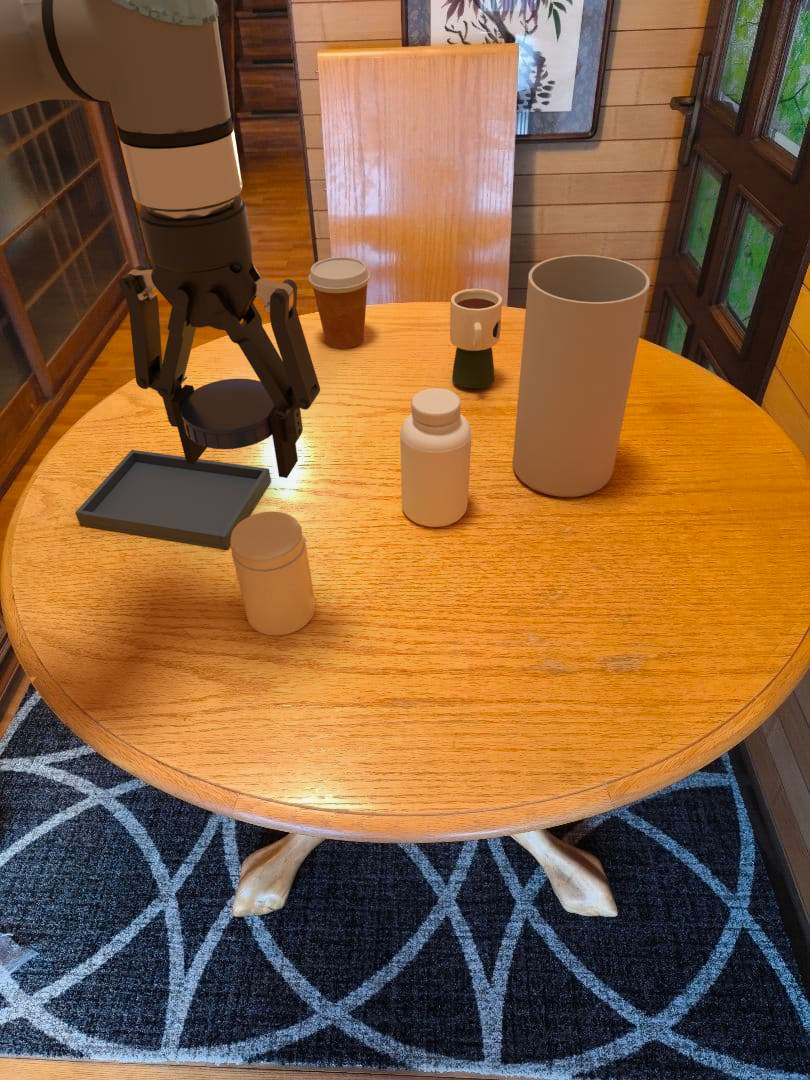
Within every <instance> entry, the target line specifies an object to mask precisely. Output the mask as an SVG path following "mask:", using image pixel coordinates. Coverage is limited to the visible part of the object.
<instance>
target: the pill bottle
mask: <svg viewBox="0 0 810 1080" xmlns="http://www.w3.org/2000/svg"><path fill="white" fill-rule="evenodd" d="M461 402H462V401H461V399H460V397H459V396H458V395H457V394H456V393H455V392H453V391H452V390H449V389H446V388H439V387H437V388H436V387H435V388H432V387H431V388H427V389H422V390H420V391H419V392H417V393H415V394H414V395H413V397H412V399H411V403H410V404H411V410H410V411H411V413H410V414H409V415H408V416H407V417H406V418H405V419H404V420H403V422H402V424H401V428H400V431H399V432H400V434H399V435H400V436H399V438H400V439H399V441H400V443H399V444H400V490H401V492H400V493H401V496H400V497H401V507H402V510H403V513H404V514H405V515H406V517H407V518H408V519H409V520H410V521H412V522H414V523H416V524H418V525H420V526H424V527H428V528H429V527H431V528H440V527H446V526H449V525H452V524H454V523H456V522H458V521H459V520H460V519H462V517H463V516H464V514H465V513H466V512H467V509H468V503H469V489H470V470H471V469H470V468H471V452H472V451H471V450H472V428H471V424H470V422H469V421H468V419H467V418H466V417H465V416H464V415H462V414H461V407H462V405H461Z"/></svg>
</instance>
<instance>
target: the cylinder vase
mask: <svg viewBox="0 0 810 1080" xmlns="http://www.w3.org/2000/svg"><path fill="white" fill-rule="evenodd" d="M650 284H651V280H650V277H649V275H648V274H647V273H646V272H645V270H643V269H641V268H640V267H639V266H637V265H636V264H633V263H631V262H629V261H625V260H622V259H618V258H614V257H609V256H603V255H595V254H569V255H561V256H555V257H552V258H548V259H545V260H543V261H541V262H539V263H537V264H535V265H533V267H532V268H531V269H530V270H529V272H528V278H527V289H526V290H527V291H526V303H525V314H524V324H523V325H524V326H523V336H522V349H521V359H520V371H519V382H518V393H517V394H518V395H517V405H516V406H517V408H516V417H515V428H514V429H515V430H514V441H513V452H512V467H513V471H514V473H515V475H516V476H517V477H518V478H519V480H520V481H521V482H523V483H524V484H525V485H526V486H527V487H529V488H531V489H533V490H534V491H537V492H538V493H542V494H544V495H548V496H552V497H560V498H575V497H583V496H587V495H590V494H593V493H595V492H597V491H599V490H600V489H602V488H603V487H605V486H606V485H607V484H608V483H609V481H610V480H611V478H612V476H613V474H614V473H613V472H614V468H615V464H616V458H617V453H618V447H619V444H620V443H619V442H620V439H621V432H622V428H623V423H624V418H625V411H626V408H627V407H626V406H627V401H628V396H629V392H630V386H631V383H632V376H633V372H634V366H635V362H636V356H637V350H638V346H639V340H640V335H641V330H642V325H643V320H644V316H645V315H644V314H645V310H646V305H647V301H648V300H647V299H648V295H649V289H650Z"/></svg>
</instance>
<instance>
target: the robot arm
mask: <svg viewBox="0 0 810 1080" xmlns="http://www.w3.org/2000/svg"><path fill="white" fill-rule="evenodd" d="M218 17H220V13H219V6H218V3H217V1H216V0H0V116H2V115H4V114H7V113H10V112H13V111H16V110H19V109H22V108H24V107H27V106H30V105H33V104H36V103H38V102H43V101H50V100H51V101H52V100H53V101H54V100H59V101H60V100H61V101H62V100H65V101H83V102H92V103H93V102H94V103H108V102H109V104H110V108H111V111H112V115H113V121H114V124H115V127H116V129H117V133H118V134H117V135H118V137H119V143H120V148H121V151H122V157H123V160H124V164H125V165H124V166H125V168H126V173H127V177H128V182H129V185H130V189H131V194H132V198H133V200H134V201H135V202H136V203H137V204H138V205H140V208H139V210H138V212H137V217H138V220H139V226H140V229H141V233H142V237H143V242H144V244H145V249H146V253H147V257H148V259H149V260H150V261H151V262H152V269H148V268H146V267H145V266H144V265H140V264H139V265H137V266H135V267H134V268H133V269H131V270H130V271H129V272H128V273H127V274H125V275H124V276H123V277H121V278H120V279H119V282H118V284H119V287H120V289H121V292H122V294H123V296H124V299H125V301H126V303H127V306H128V316H129V325H130V334H131V344H132V354H133V366H134V374H135V381H136V382H135V383H136V384H137V386H138V387H139V388H140V389H143V390H148V389H149V388H150V389H152V390H154V391H156V392H157V394H158V395H159V396H160V397H161V398H162V402H163V405H164V408H165V412H166V413H165V414H166V416H167V420H168V423H169V424H170V426H171V427H174V428H177V431H178V435H179V439H180V443H181V447H182V450H183V455H184V457H185V459H186V463H190V464H195V462H196V461H197V460H198V459H200V458H201V456H202V455H203V454H204V453H205V451H206V450H207V448H208V447H204V446H201V445H199V444H197V443H195V442H193V441H192V440H191V439H190V438H188V436H187V434H186V432H185V431H184V427H183V423H182V415H181V405H182V402H183V401H184V399H185V398H186V397H187V396H188V395H189V394H190V393H191V392H193V391H194V390H195V388H194V385H193V384H192V385H191V384H184V385H183V386H182V384H183V383H185V381H186V380H187V378H188V376H186V371H187V367H188V363H189V360H190V356H191V351H192V347H193V342H194V339H195V334H196V330H197V328H206V327H210V328H213V329H216V330H219V331H225V333H226V334H227V336H228V338H229V339H230V341H231V342H232V343H234V344H237V345H238V347H239V349H241V352H242V353H243V355H244V357H245V358H246V360H247V361H248V364H249V365H250V367H251V368H252V370H253V372H254V373H255V375H256V376H257V378H258V379H259V380H258V381H261V383H262V385H263V386H264V388H265V389H266V391H267V393H268V394H269V396H270V398H271V399H272V401H273V403H274V404H275V406H274V407H273V409H272V410H271V411H270V413H269V417H270V424H271V430H272V435H271V436H272V442H273V448H274V454H275V460H276V461H275V462H276V466H277V473H278V477H279V478H284V479H288V477H289V476H290V474H291V472H292V471H293V469H294V467H295V466H296V464H297V463H298V461H299V458H298V450H297V442H298V441H299V439H300V437H301V436H302V434H303V430H304V427H303V420H302V412H301V410H304V411H305V410H309V409H310V408H311V406H312V405H313V403H314V401H316V398H318V395H319V394H320V392H321V387H320V386H321V385H320V383H319V380H318V379H319V378H318V377H317V373H316V370H315V366H314V363H313V360H312V356H311V353H310V349H309V346H308V343H307V340H306V336H305V333H304V330H303V327H302V323H301V320H300V316H299V313H298V309H297V303H298V302H297V301H298V285H297V283H296V282H295V281H294V280H292V279H290V278H286V279H284V280H283V281H282V282H281V283H279V282H275V281H272V280H268V279H265V278H264V279H263V278H262V277H261V275H260V273H259V272H258V270H257V268H256V266H255V264H254V262H253V246H252V245H253V244H252V238H251V231H250V226H249V219H248V217H249V216H248V212H247V211H248V210H247V205H246V202H245V200H244V199H243V198H242V197H241V196H240V194H241V192H242V190H243V188H244V187H243V181H242V174H241V169H240V168H241V167H240V161H239V155H238V148H237V141H236V136H235V135H236V134H235V130H234V125H233V120H232V113H231V110H230V102H229V95H228V88H227V81H226V80H227V79H226V73H225V66H224V59H223V52H222V51H223V50H222V44H221V37H220V30H219V29H220V28H219V18H218ZM158 293H160V294H161V295H162V296H163V297H164V299H165V300H166V301H167V302H168V303H169V305H170V306H171V310H170V315H169V319H168V324H167V330H168V335H167V340H166V346H165V349H164V354H163V352H162V337H161V321H160V310H159V309H160V308H159V299H158ZM256 298H259V299H260V300H261V302H262V303H263V311H264V312H265V313H266V314H269V320H270V326H271V331H272V333H273V336H274V339H275V342H276V345H277V348H278V351H279V352H278V351H277V348H276V347H275V345H274V344H273V342H272V340H271V339H270V337H269V335H268V334H267V331H266V330H265V327H264V326H263V319H262V316H261V314H260V312H259V310H258V309H257V307H256V306H255V305H256V304H254V301H255V300H256ZM241 321H242V322H241Z"/></svg>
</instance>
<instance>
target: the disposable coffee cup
mask: <svg viewBox="0 0 810 1080" xmlns="http://www.w3.org/2000/svg"><path fill="white" fill-rule="evenodd" d="M370 278H371V272H370V270H369V269H368V267H367V264H366V263H365V261H363V260H361V259H359V258H355V257H349V256H335V257H328V258H324V259H322V260H318V261H316V262H315V263H313V264H312V266H311V267H310V273H309V275H308V278H307V279H308V281H309V283H310V285H311V287H312V289H313V294H314V298H315V302H316V306H317V311H318V315H319V318H320V319H319V320H320V324H321V328H322V332H323V336H324V340H325V344H326V345H328V346H329V347H331V348H335V349H340V350H341V349H351V348H355V347H357V346H359V345H361V344H362V343H363V342H364V340H365V329H366V327H365V325H366V314H367V313H366V311H367V310H366V309H367V298H368V297H367V296H368V284H369V282H370Z"/></svg>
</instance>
